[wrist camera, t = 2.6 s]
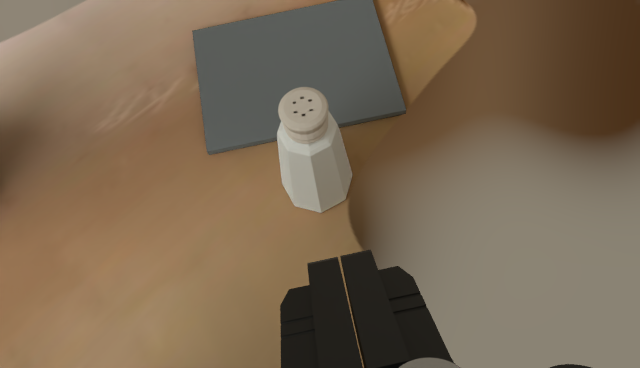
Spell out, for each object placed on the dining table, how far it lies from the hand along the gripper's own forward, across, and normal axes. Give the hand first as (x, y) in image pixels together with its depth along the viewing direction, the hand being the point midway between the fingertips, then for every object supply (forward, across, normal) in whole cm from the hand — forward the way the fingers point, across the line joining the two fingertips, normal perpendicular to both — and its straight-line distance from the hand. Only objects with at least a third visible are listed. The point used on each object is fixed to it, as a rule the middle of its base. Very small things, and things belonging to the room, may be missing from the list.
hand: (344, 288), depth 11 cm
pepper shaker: (+24, 0, +7) cm, 25 cm away
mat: (+31, 0, 0) cm, 31 cm away
